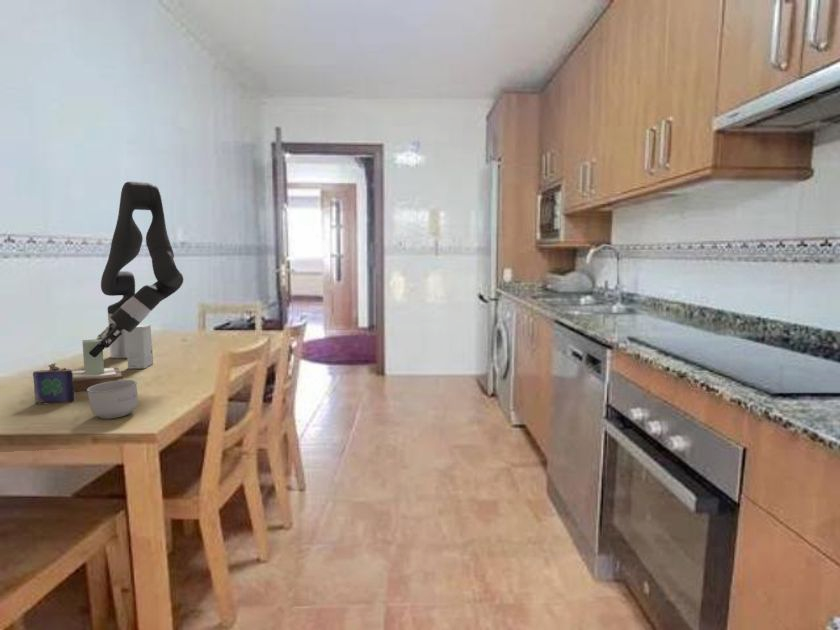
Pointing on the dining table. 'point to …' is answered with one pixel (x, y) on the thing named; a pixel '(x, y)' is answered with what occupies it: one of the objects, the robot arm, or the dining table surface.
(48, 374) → the flask
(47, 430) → the dining table surface
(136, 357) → the skincare box
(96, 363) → the green block
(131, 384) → the teacup
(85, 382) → the base block
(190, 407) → the dining table surface
